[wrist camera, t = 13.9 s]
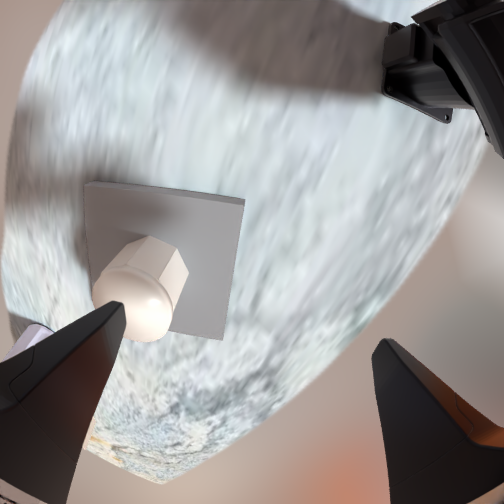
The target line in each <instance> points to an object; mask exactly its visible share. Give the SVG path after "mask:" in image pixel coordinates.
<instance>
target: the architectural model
mask: <svg viewBox="0 0 504 504" xmlns="http://www.w3.org/2000/svg"><path fill="white" fill-rule="evenodd" d="M95 424H96V421H95V419H94V417H93V418H92V421H91V423H90V426H89V429H88V432H87V435H86V438H85V440H84V443H83V446H82V447H83V448H84V450H86V449H87V446H88V443H89V440H90V438H91V435H92V432H93V429H94V427H95Z"/></svg>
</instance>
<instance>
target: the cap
mask: <svg viewBox="0 0 504 504" xmlns="http://www.w3.org/2000/svg"><path fill="white" fill-rule="evenodd" d="M188 274H189V272H188V270H187V268H186V266H185V264H184V262H183V260H182V258H181V255H180V253H179V251H178V249H177V248H176V247H174V246H172V245H170V244H168V243H165V242H163V241H161V240H159V239H157V238H154V237H152V236H150V235H149V236H147V237H144V238H142V239H139V240H136V241H134V242H131V243H129V244H127V245H126V246H125V247H124V248H123V249H122V250H121V251H120V252H119V253H118V255H117V256H116V257H115V258H114V259H113V260H112V261H111V262H110V263H109V264H108V266H107V267H106V268H105V269H104V270H103V271H102V272H101V276H100V277H99V278H98V280H97V281H96V282H95V284H94V286H93V290H92V301H93V305H94V307H95V309H97V308H99V307H101V306H103V305H104V304H106V303H108V302H110V301H112V300H113V301H118V302H122V303H123V304H124V307H125V314H126V321H127V324H126V329H125V332H124V335H123V337H124V338H127V339H130V340H133V341H137V342H151V341H155V340H158V339H159V338H161V337H162V336H164V335H165V333H166V332H167V331H168V329H169V326H170V323H171V321H172V318H173V312H174V309H175V307H176V304H177V301H178V299H179V296H180V294H181V291H182V289H183V286H184V284H185V282H186V279H187V277H188Z"/></svg>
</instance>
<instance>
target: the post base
mask: <svg viewBox="0 0 504 504" xmlns="http://www.w3.org/2000/svg"><path fill="white" fill-rule="evenodd" d="M244 205H245V199H239V198H233V197H226V196H220V195H213V194H206V193H199V192H192V191H185V190H177V189H169V188H161V187H152V186H143V185H134V184H124V183H114V182H103V181H92V182H90V183H88V184H86V185H84V214H85V229H86V240H87V250H88V258H89V266H90V273H91V280H92V286H94V284H95V282H96V281H97V280H98V278H99V277H100V276H101V272H102V271H103V270H104V269H105V268H106V267H107V266H108V264H109V263H110V262H111V261H112V260H113V259H114V258H115V257H116V256H117V255H118V253H119V252H120V251H121V250H122V249H123V248H124V247H125V246H126V245H127V244H129V243H131V242H134V241H136V240H139V239H142V238H144V237H147V236H149V235H150V236H152V237H154V238H157V239H159V240H161V241H163V242H165V243H168V244H170V245H172V246H174V247H176V248H177V249H178V251H179V253H180V255H181V258H182V260H183V262H184V264H185V266H186V268H187V270H188V272H189V274H188V277H187V279H186V282H185V284H184V286H183V289H182V291H181V294H180V296H179V299H178V301H177V304H176V307H175V309H174V312H173V318H172V321H171V323H170V326H169V329H168V331H172V332H177V333H182V334H188V335H193V336H199V337H204V338H210V339H216V340H223V336H224V329H225V323H226V316H227V310H228V303H229V297H230V291H231V284H232V278H233V272H234V265H235V259H236V253H237V247H238V241H239V235H240V229H241V223H242V217H243V211H244Z"/></svg>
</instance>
